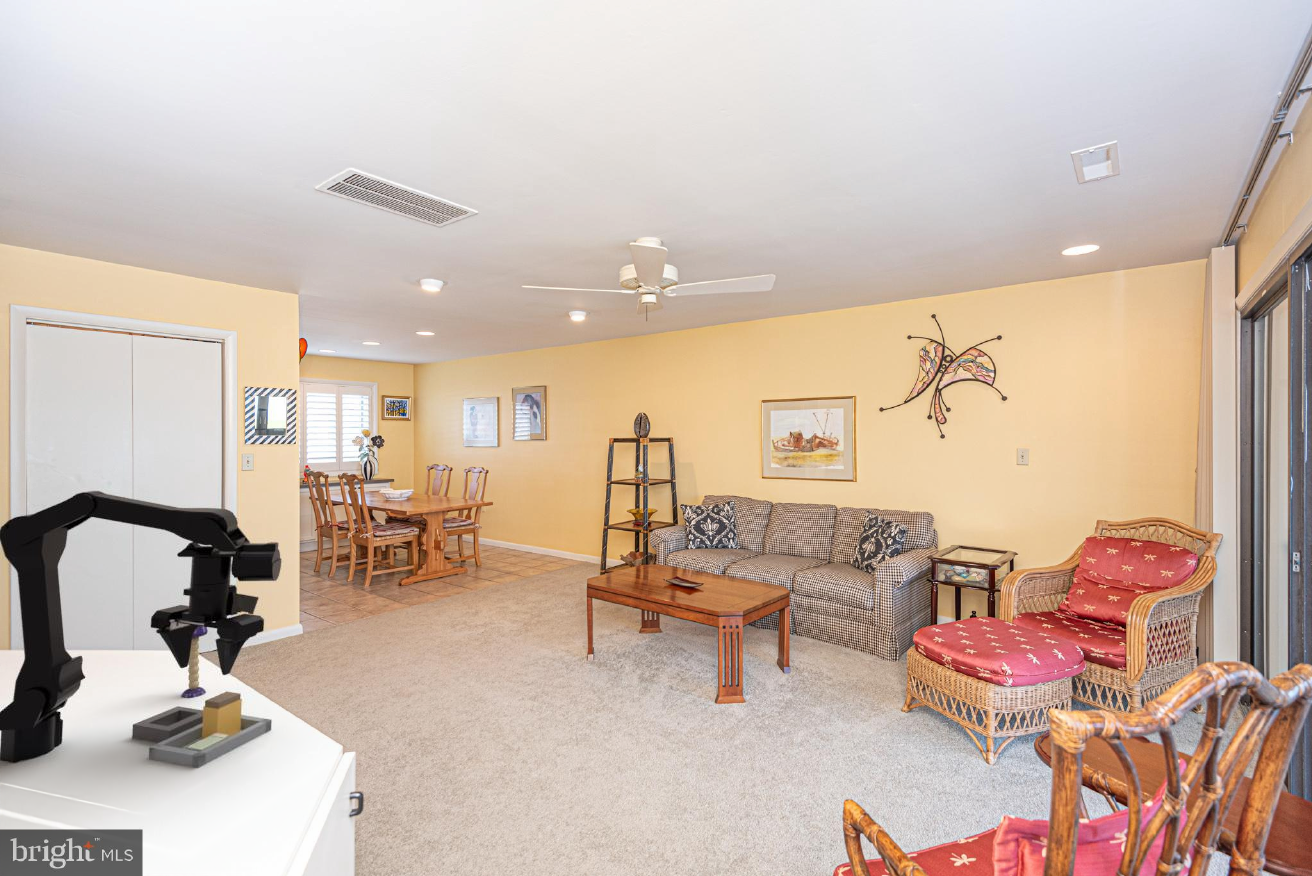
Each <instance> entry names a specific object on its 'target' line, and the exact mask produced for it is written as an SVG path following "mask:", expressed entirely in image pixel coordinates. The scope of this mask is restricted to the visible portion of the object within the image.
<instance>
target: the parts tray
mask: <svg viewBox="0 0 1312 876" xmlns="http://www.w3.org/2000/svg"><path fill="white" fill-rule="evenodd" d="M272 722H273V720H272V719H271V718H270V719H269V718H264V717H257V716H252V715H246V714H241V729H240V732H238V733H236V734H234V735H232V736H230V737H228V738H226V739H224V740H222V741H220V742H218V743H216V744H214V745H212V746H210V747H208V748H206V749H204V750H202V751H200V752H198V751H193V750H187V748H182V747H184V746H186V745H189V744H190V743H194V742H196V741H197V740H200V739H202V727H203V723H202V724H200V725H197V726H195V727H193V728H191V729H189V730H186V731H184V732H182V733H180V734H177V735H175V736H173V737H171V738H169V739H166V740H164V741H162V742H160V743H155V744H153V745H151V746H149V747H148V760H152V761H153V760H154V761H159V762H163V763H168V764H175V765H180V766H186V767H191V768H194V769H195V768H196V769H199V768H201V767H203V766H205V765H207V764H209V763H211V762H212V761H214V760H217V759H218V758H220V757H222V756H224V755H226V754H228V753H230V752H232V751H234V750H235V749H238V748H239V747H241V746H243V745H246V744H248V743H249V742H251V741H252V740H254V739H257V738H258V737H261V736H262V735H264V734H266V733H268V732H270V731H271V730H272Z"/></svg>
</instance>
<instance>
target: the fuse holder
mask: <svg viewBox="0 0 1312 876" xmlns="http://www.w3.org/2000/svg"><path fill="white" fill-rule="evenodd" d="M202 723H203V709H198V708H192V707H186V706H180V705H179V706H178V705H177V706H174V707H172V708H170V709H167V710H165V711H162V712H160V713H158V714H155V715H152V716H149V717H147V718H145V719H143V720H140V721H138V722H136V723H132V733H131V734H132V735H131V737H132V738H131V739H135V740H141V741H147V742H152V743H155V744H158V743H160V742H162V741H164V740H166V739H169V738H171V737H173V736H175V735H177V734H180V733H182V732H184V731H186V730H189V729H191V728H193V727H195V726H197V725H200V724H202Z"/></svg>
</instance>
